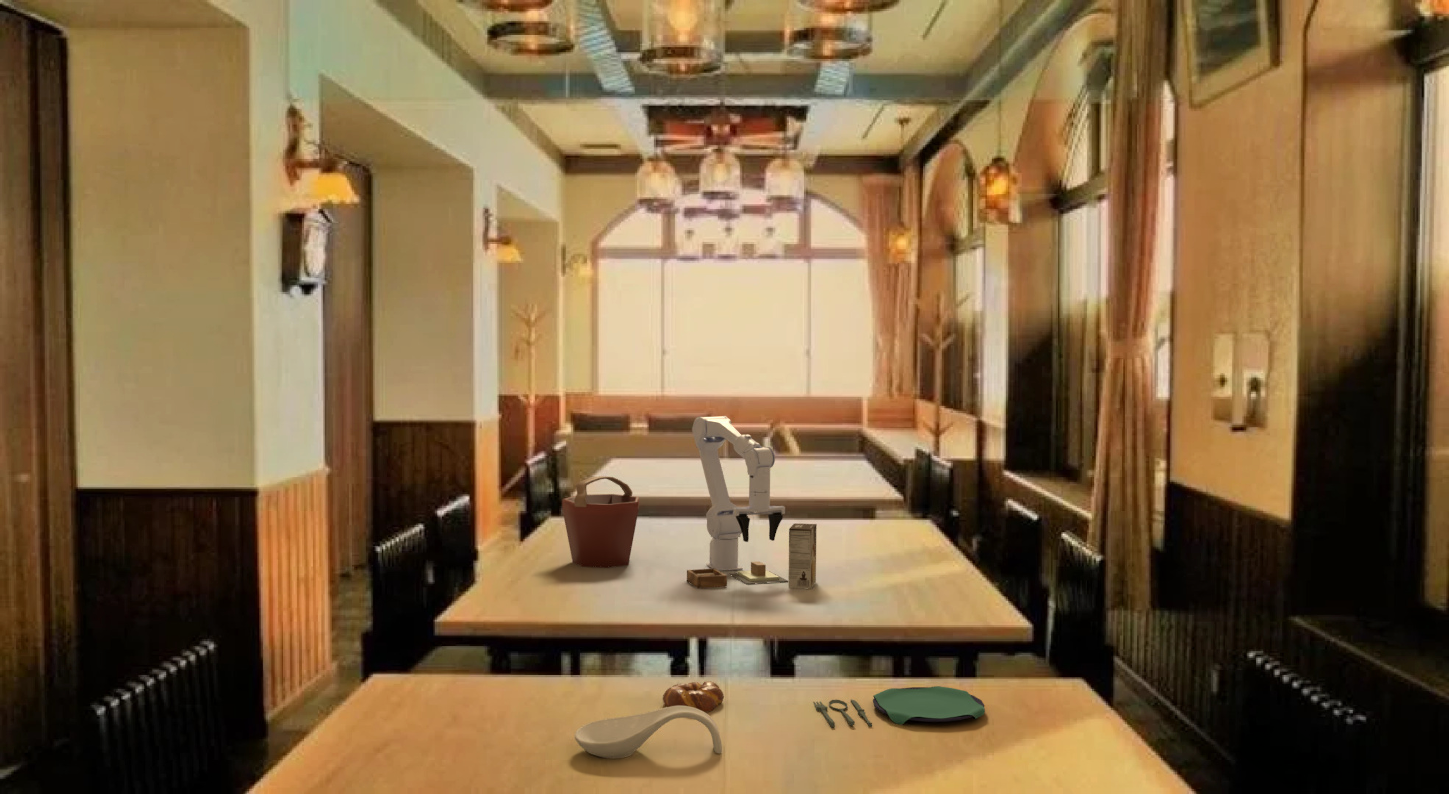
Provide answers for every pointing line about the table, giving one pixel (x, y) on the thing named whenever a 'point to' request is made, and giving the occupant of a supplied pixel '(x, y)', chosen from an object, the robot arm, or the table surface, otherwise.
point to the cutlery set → (917, 705)
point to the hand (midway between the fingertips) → (758, 540)
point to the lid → (758, 573)
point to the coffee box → (802, 555)
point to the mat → (756, 581)
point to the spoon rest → (636, 731)
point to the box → (706, 578)
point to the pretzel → (694, 695)
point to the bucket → (600, 525)
